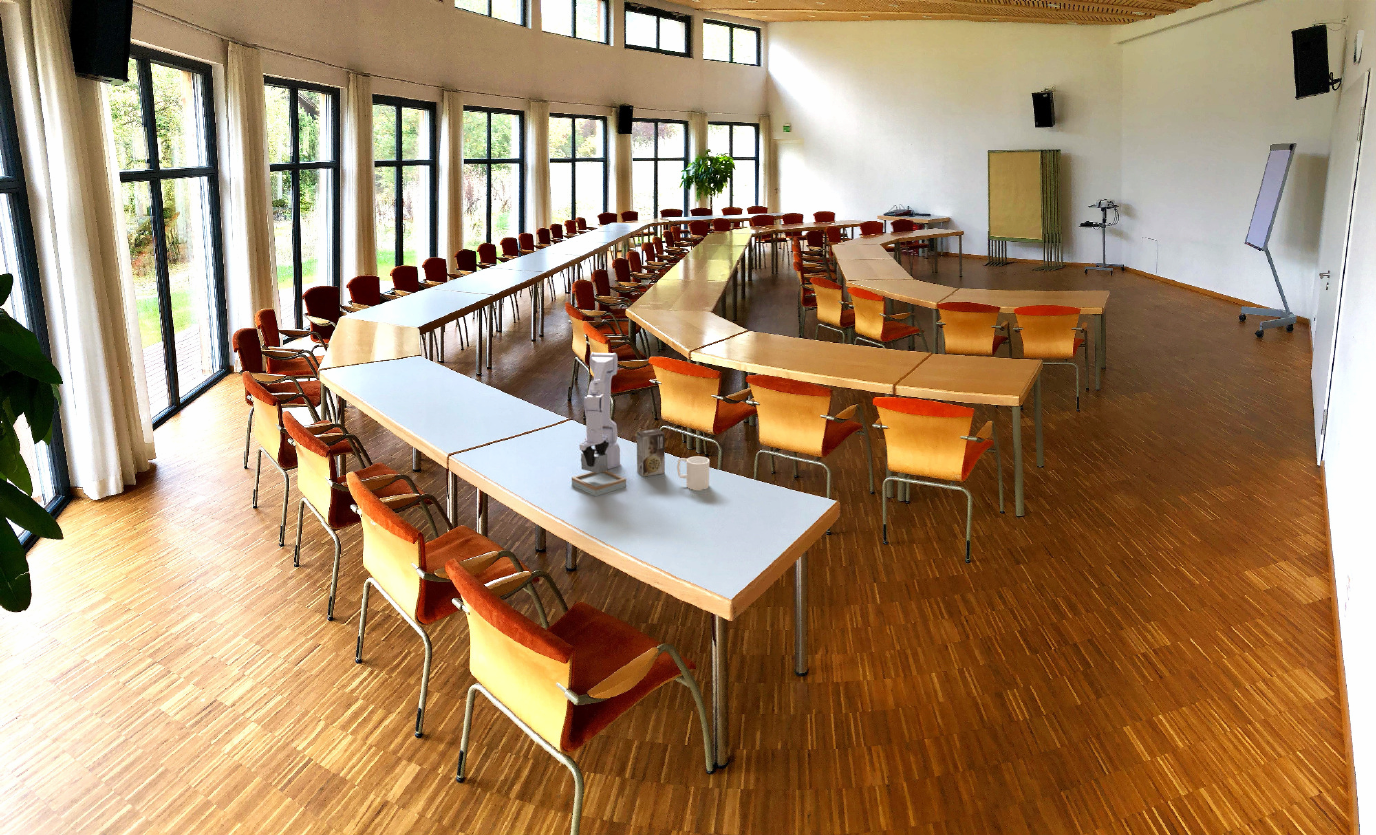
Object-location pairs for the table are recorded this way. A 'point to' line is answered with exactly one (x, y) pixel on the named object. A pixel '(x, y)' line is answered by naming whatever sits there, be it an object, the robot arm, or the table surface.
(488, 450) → the table surface
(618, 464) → the robot arm
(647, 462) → the coffee box
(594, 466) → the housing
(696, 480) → the cup
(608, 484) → the square tray
